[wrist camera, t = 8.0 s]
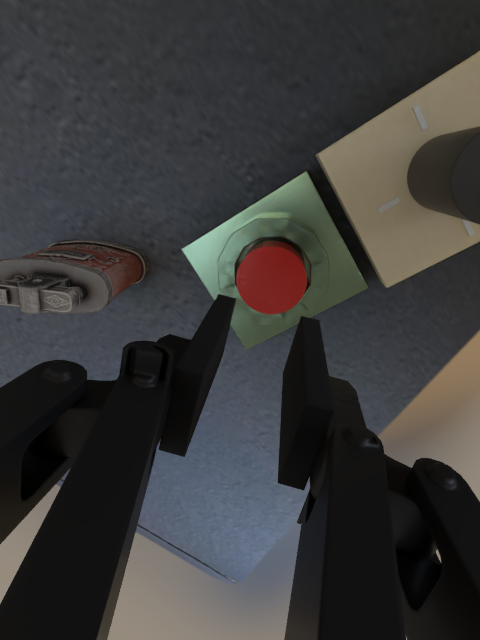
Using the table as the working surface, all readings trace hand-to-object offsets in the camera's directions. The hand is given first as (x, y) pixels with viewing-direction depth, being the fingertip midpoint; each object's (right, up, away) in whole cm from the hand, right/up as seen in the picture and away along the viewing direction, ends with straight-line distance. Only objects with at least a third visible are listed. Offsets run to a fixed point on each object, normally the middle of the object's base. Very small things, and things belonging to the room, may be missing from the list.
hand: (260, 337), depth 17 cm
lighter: (-12, +5, +15) cm, 20 cm away
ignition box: (+2, +5, +14) cm, 15 cm away
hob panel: (+12, +10, +10) cm, 19 cm away
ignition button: (+1, +4, +10) cm, 11 cm away
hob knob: (+12, +10, +8) cm, 17 cm away
